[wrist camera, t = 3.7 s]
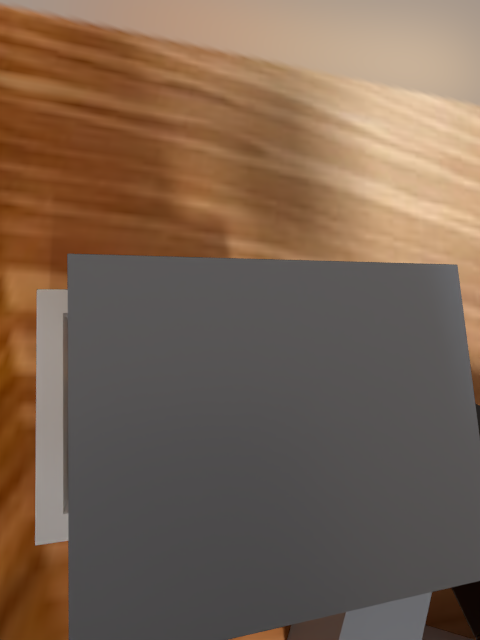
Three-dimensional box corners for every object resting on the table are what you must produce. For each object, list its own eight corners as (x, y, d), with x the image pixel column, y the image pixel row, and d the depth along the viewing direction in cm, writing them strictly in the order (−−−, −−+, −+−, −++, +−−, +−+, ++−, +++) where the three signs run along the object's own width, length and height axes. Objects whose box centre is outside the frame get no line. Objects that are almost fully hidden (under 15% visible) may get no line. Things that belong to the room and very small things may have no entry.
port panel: (533, 712, 19) (621, 777, 16) (285, 645, 16) (330, 706, 13) (569, 476, 21) (652, 491, 18) (359, 386, 19) (411, 385, 16)
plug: (207, 441, 17) (497, 577, 4) (94, 452, 16) (69, 676, 3) (203, 356, 17) (456, 264, 5) (94, 360, 16) (67, 253, 4)
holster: (249, 489, 17) (278, 509, 14) (48, 516, 15) (34, 545, 12) (238, 306, 18) (264, 290, 15) (48, 307, 16) (36, 289, 13)
